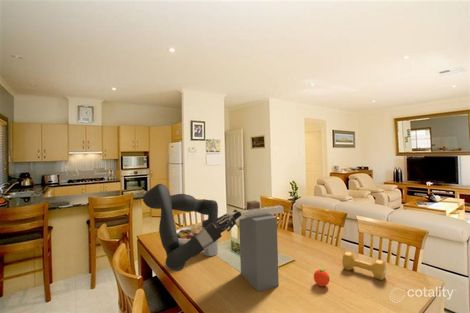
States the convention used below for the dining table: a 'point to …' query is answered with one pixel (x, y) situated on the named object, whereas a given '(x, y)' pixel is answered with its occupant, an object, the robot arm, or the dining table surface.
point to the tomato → (321, 277)
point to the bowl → (187, 233)
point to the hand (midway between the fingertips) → (238, 212)
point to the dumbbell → (364, 265)
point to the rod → (258, 212)
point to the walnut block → (253, 205)
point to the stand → (259, 251)
